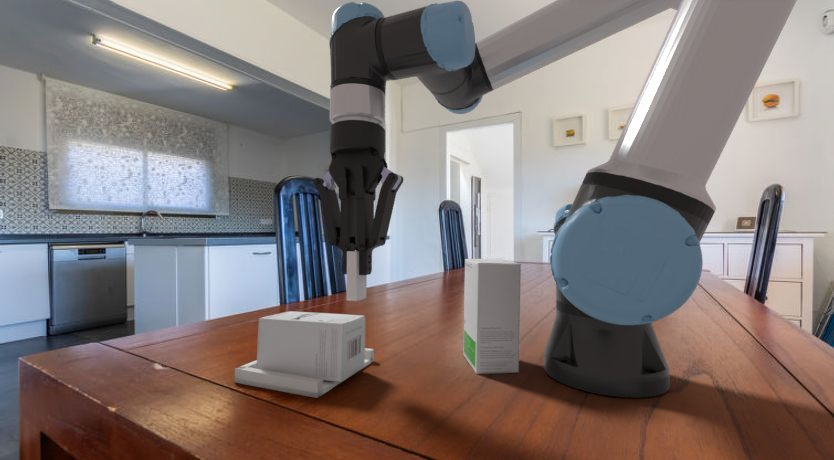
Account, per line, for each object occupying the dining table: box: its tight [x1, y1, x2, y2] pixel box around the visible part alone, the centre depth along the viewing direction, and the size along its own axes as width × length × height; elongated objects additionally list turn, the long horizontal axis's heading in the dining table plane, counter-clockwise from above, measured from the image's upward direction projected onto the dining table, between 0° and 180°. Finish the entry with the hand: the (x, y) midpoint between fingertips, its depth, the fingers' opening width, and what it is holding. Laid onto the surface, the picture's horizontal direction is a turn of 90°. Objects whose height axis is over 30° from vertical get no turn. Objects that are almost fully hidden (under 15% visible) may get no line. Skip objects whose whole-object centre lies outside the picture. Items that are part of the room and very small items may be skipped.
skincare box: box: [462, 258, 522, 375], centre depth 54 cm, size 8×7×16 cm
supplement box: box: [256, 310, 366, 383], centre depth 50 cm, size 7×7×13 cm
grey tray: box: [234, 347, 375, 399], centre depth 51 cm, size 13×14×2 cm
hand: (356, 299), depth 49 cm, fingers closed
